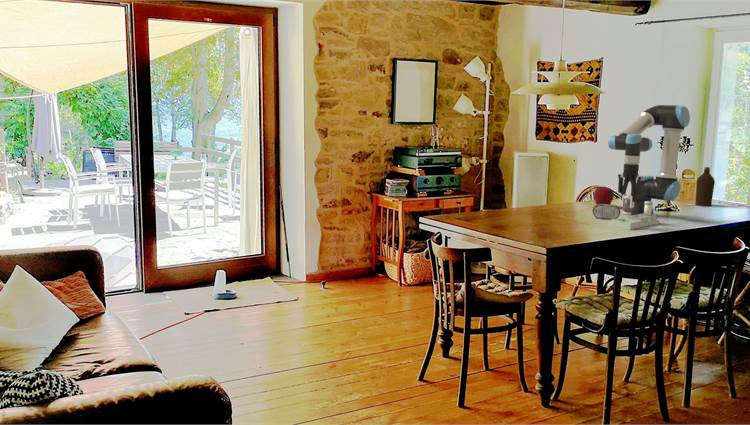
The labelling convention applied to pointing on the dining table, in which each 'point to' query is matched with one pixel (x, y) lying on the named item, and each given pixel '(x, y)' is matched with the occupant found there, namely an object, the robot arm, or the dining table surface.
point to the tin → (606, 211)
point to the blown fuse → (627, 205)
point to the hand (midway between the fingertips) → (627, 207)
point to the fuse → (648, 208)
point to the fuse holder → (645, 219)
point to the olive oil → (705, 188)
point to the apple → (603, 195)
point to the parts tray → (626, 223)
